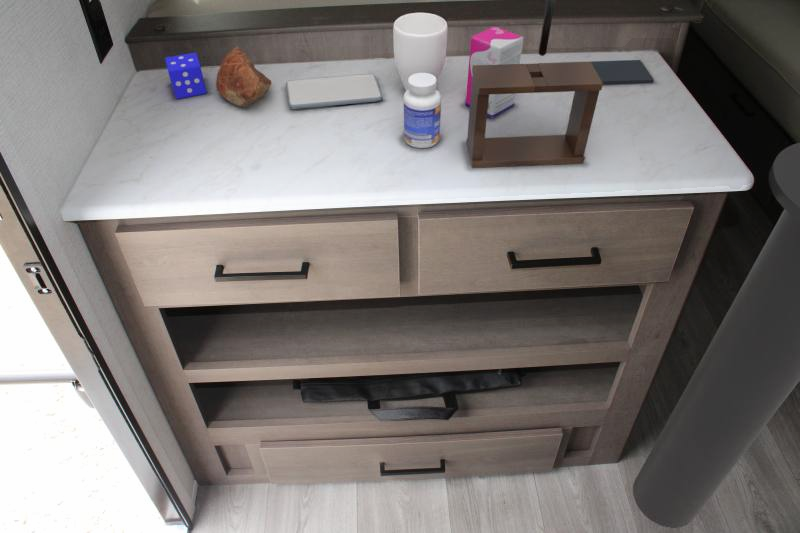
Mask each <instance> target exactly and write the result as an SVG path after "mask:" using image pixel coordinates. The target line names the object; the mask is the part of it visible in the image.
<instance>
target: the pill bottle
mask: <svg viewBox="0 0 800 533" xmlns="http://www.w3.org/2000/svg"><path fill="white" fill-rule="evenodd" d="M437 83H438V80H436V77H435V76H434V75H432V74H429V73H416V74H413V75H411V76H410V77H409V78H408V90H407V91H406V90H405V92H404V94H403V102H402V103H403V139H404V142H405V143H406V144H407V145H409V146H410V147H413V148H416V149H428V148H432V147H434V146H435V145H437V144H438V143H439V141H440V138H441V118H442V117H441V115H442V114H441V113H442V95H441V93H440V91H439V90H437V86H438V84H437Z"/></svg>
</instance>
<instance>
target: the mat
mask: <svg viewBox="0 0 800 533" xmlns="http://www.w3.org/2000/svg"><path fill="white" fill-rule="evenodd" d="M590 62H591V64H592V65H593V67H594V69H595V71H596V72H597V74H598V76H599V78H600V79H601V81H602V83H603V85H626V84H628V85H630V84H653V83H654V81H655V80H654V79H655V78H653V76H652V75H651V73H650V72H649V70H648V69H647V67H646V66H645V65H644V63H643V62H642V59H628V60H627V59H626V60H623V59H622V60H599V61H597V60H596V61H592V60H591V61H590Z"/></svg>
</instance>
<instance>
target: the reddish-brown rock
mask: <svg viewBox="0 0 800 533" xmlns="http://www.w3.org/2000/svg"><path fill="white" fill-rule="evenodd" d="M215 86H216V87H215V88H216V91H217V92H218V94H220V96H222V98H224V99H225V100H227V101H228V102H230V103H232V104H233V105H236V106H239V107H245V106H248V105H252V103H254V102H256V101H257V100H259V99H260V98H261V97H263V96H264V95H265V94H266V93H267V92H268V91H269V89H270V88H271V86H272V80H271V79H269V78H268V77H267V76H266V75H265V74H264V73H262V72H261V71H260V70H258V69H257V68H256V67H255V65H254V62H253V61H252V60H251V59H250V58H249V56H248V55H247V54H246V52H245V51H242V50H241V49H240V47H239V46H238V45H236V46H235V47H234V48H233V49H232V51H230V52H228V53H226V54H225V56H223V59H222V61H221V63H220V67H219V69H218V70H217V75H216V82H215Z"/></svg>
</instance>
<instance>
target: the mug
mask: <svg viewBox="0 0 800 533" xmlns="http://www.w3.org/2000/svg"><path fill="white" fill-rule="evenodd" d="M447 23H448V22H447V21H446V20H445V19H444V18H443V17H442V16H440V15H438V14H433V13H431V12H430V13H429V12H411V13H406V14H403V15H401V16H399V17H398V18H397V19H395V21H394V22H393V26H392V27H393V29H392V30H393V31H392V35H393V37H392V38H393V39H392V40H393V58H394V63H395V66H396V70H397V72H398V73H399V77H400V79H401V82H402V84H403V87H404V89H405V92H406V91H407V90H408V78H409V77H410V76H411V75H413V74H416V73H429V74H432V75H434V76H435V77H436V80H437V81H438V80H439V77H440V75H441V74H442V71H443V67H444V65H445V62H446V57H447V47H448V24H447Z"/></svg>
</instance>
